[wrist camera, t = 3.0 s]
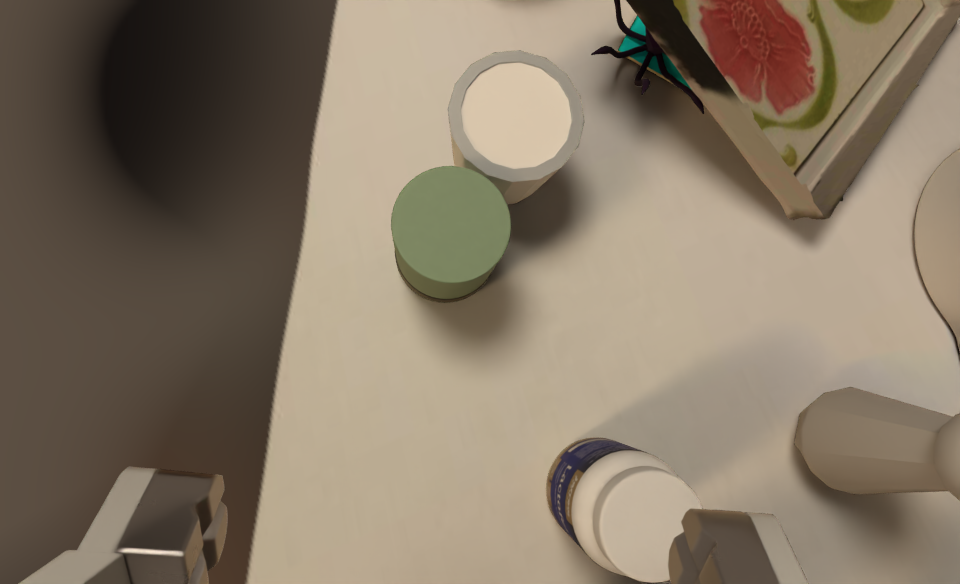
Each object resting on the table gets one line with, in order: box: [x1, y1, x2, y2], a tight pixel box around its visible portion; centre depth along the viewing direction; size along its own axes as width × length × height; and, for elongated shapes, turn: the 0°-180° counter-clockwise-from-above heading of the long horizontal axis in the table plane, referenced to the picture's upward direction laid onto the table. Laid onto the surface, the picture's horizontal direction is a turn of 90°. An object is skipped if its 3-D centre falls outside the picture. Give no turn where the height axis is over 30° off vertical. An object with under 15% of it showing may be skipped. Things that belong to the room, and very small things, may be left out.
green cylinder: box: [391, 166, 511, 303], centre depth 35 cm, size 6×6×8 cm
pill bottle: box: [546, 438, 703, 583], centre depth 33 cm, size 6×6×10 cm
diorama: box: [591, 0, 704, 114], centre depth 39 cm, size 11×15×6 cm
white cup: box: [448, 50, 584, 204], centre depth 37 cm, size 7×7×7 cm
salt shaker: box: [794, 387, 960, 500], centre depth 33 cm, size 6×6×13 cm
